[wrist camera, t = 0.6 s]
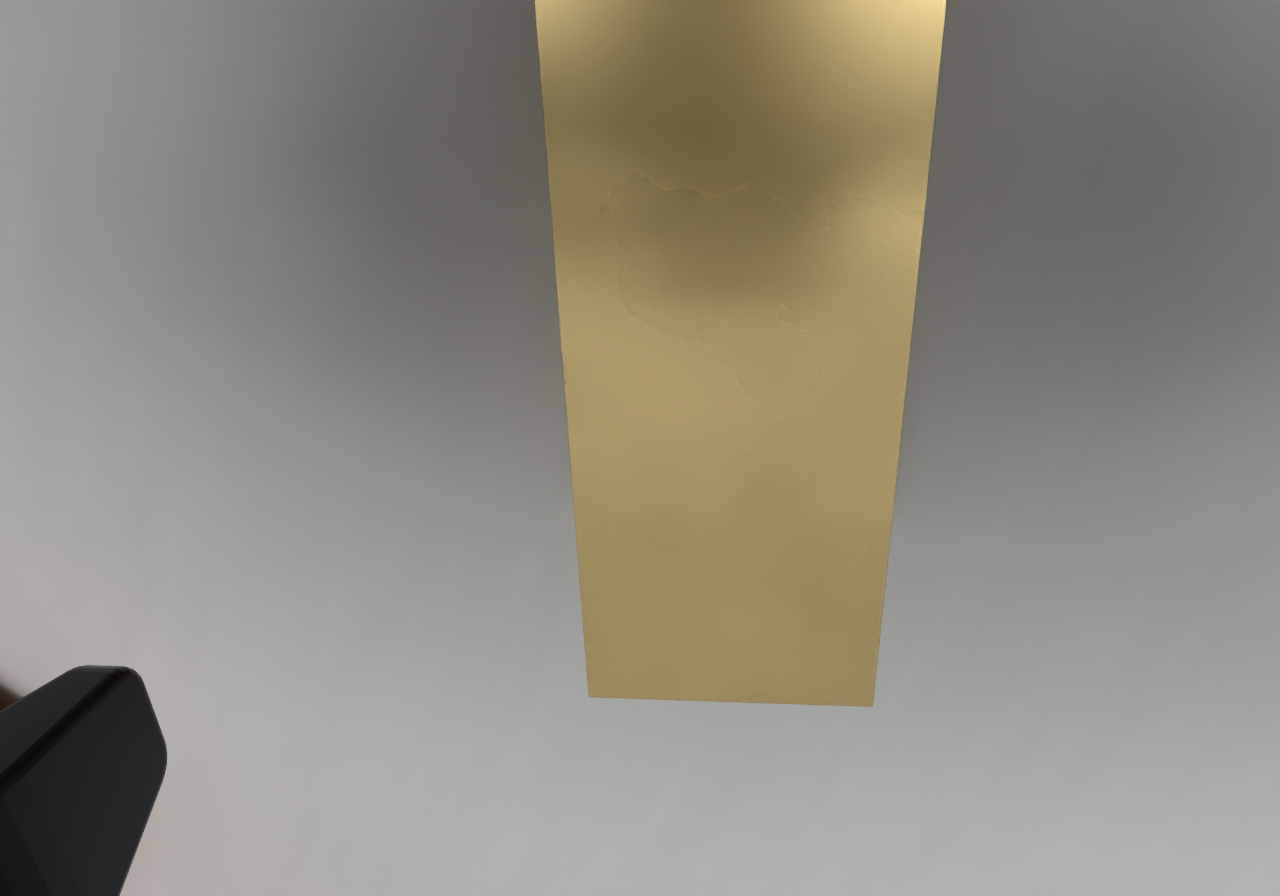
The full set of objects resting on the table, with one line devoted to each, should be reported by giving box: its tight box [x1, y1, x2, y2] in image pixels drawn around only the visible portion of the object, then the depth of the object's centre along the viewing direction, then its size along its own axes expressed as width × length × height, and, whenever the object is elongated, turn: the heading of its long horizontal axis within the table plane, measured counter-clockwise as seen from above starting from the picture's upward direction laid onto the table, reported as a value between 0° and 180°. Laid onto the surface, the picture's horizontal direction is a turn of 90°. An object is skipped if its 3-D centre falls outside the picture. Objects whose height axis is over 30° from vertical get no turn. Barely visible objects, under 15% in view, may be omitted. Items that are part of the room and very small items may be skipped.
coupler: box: [535, 0, 947, 707], centre depth 14 cm, size 10×4×5 cm, turn 2°
